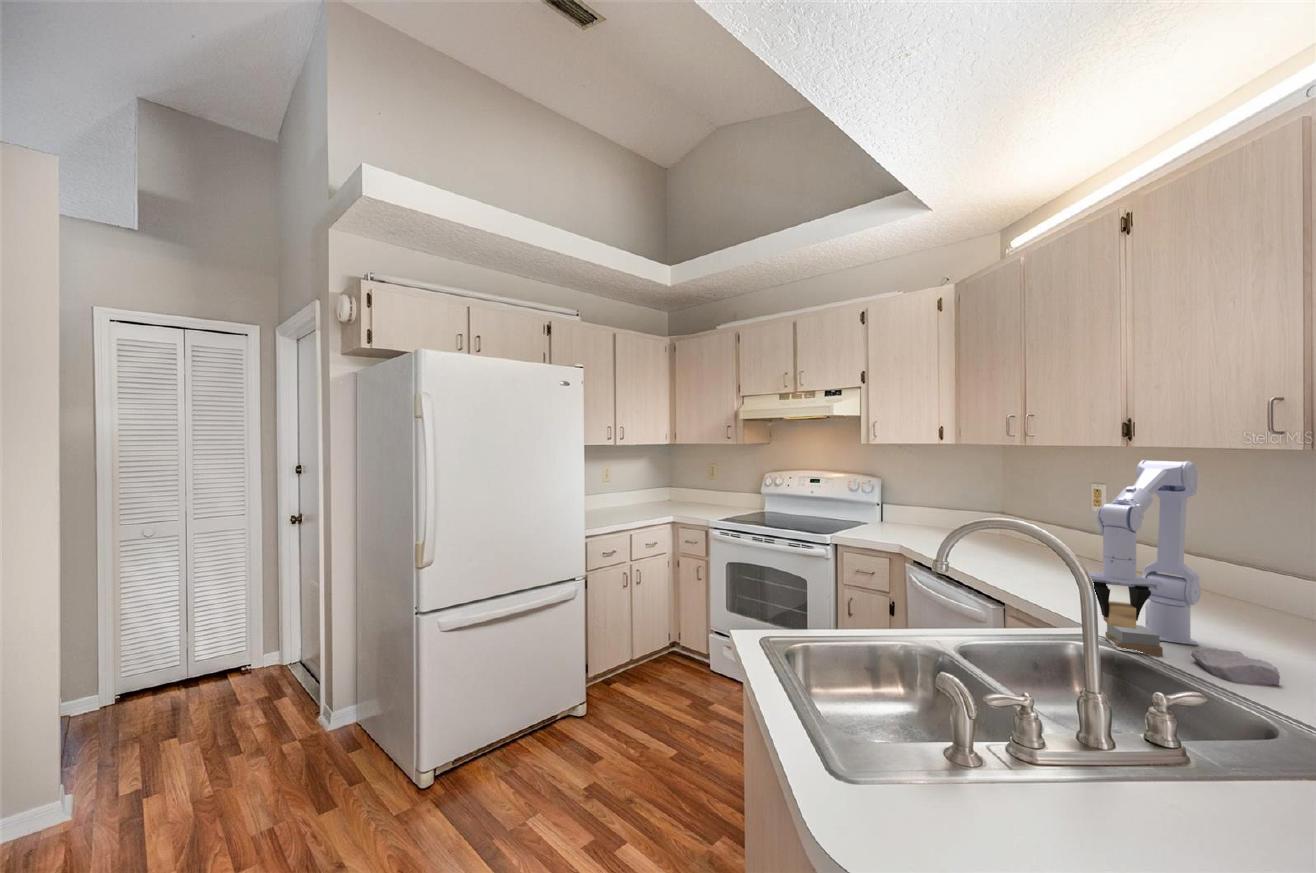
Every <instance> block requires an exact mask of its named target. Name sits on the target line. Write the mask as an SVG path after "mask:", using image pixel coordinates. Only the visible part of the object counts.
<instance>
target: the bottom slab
mask: <svg viewBox="0 0 1316 873" xmlns="http://www.w3.org/2000/svg"><path fill="white" fill-rule="evenodd" d="M1104 633H1105V636H1106V637H1107V638H1108V639H1110V640H1112V641H1113V642H1114V643H1115V645H1116V646H1117V647H1121V648H1126V649H1133V650H1137V651H1140V652H1143V653H1145V654H1144V655H1147V654H1150V655H1149V656H1156V657H1163V650H1164V649H1163V647H1162V646H1161V645H1160V647H1159V646H1149V645H1139V644H1129V643H1122V642H1120V641H1119V640H1117V639H1116V638H1114V637H1113V636H1111V635H1110V634H1108V633H1107V631H1105V632H1104ZM1105 636H1104V637H1105Z"/></svg>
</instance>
